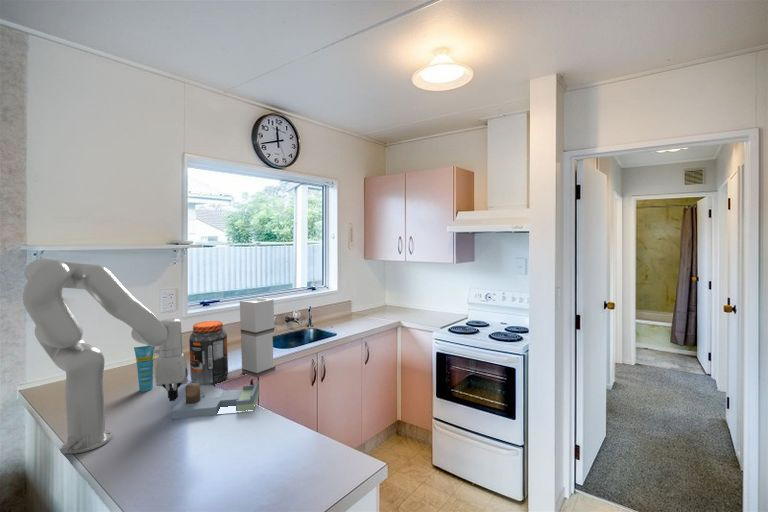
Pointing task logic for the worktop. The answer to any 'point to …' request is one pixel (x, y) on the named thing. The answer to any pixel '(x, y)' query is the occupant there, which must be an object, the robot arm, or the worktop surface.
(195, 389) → the brown wooden block
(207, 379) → the supplement tub
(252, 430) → the worktop surface
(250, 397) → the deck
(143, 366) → the tube
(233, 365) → the worktop surface
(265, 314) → the banded white pillar
